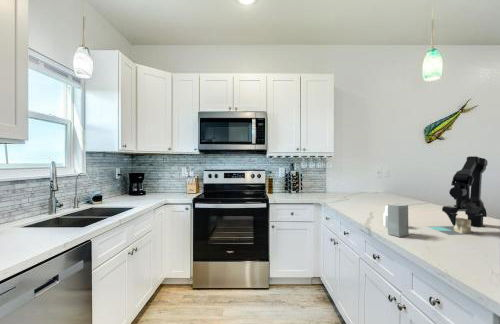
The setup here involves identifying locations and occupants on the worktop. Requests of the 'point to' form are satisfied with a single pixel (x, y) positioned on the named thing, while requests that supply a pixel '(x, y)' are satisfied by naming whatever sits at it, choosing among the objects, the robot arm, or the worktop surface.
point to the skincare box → (398, 220)
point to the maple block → (462, 225)
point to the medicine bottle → (385, 217)
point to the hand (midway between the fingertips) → (462, 225)
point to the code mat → (450, 230)
